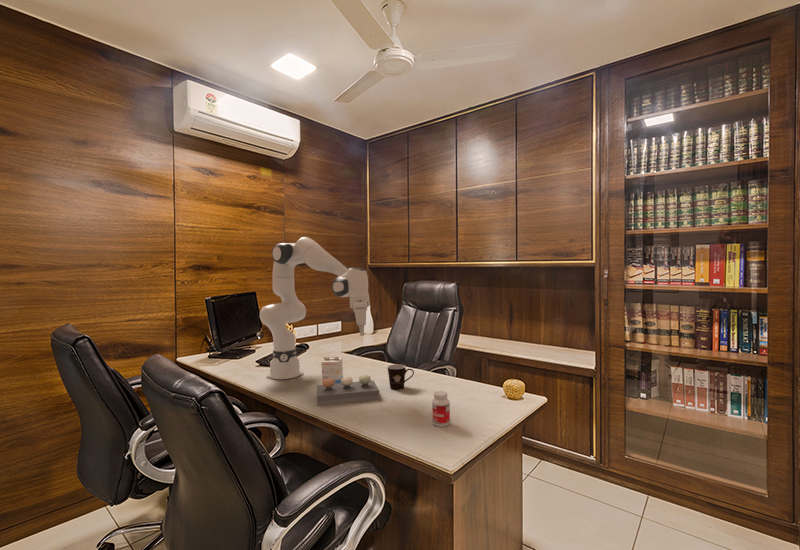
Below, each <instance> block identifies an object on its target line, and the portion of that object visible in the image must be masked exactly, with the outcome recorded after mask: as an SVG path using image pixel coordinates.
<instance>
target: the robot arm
mask: <svg viewBox="0 0 800 550" xmlns="http://www.w3.org/2000/svg"><path fill="white" fill-rule="evenodd" d="M271 255H272V259H273V265H272V266H273V268H272V292H273V293H274V294H275V295H276V296H277V297H280V299H281V303H280V302H279V303H271V304H267V305H265V306H262V308H261V309H260V311H259V319H260V322H261V323H262V324H263V325H264V326H266V327H267V328H268V329H269V331H270V333H271V334H272V342H273V350H272V357H273V358H272V360H270V362H269V364H270V365H269V373H268V374H266V378H268V379H273V380H288V379H294V378H296V377H299V376H303V375H304V371H303V369H301V365H300V359H299V358H298V357H297V347H296V335H295V333H294V332H293V331H291V330H289V329H288V328H287V324H291V323H297V322H299V321H302V320H304V319H305V317H306V314H307V308H306V306H305V305H304V303H303V302H301V301H300V300H299V298H298V296H297V294H296V290H295V289H296V288H295V287H296V286H295V267H296V266H297V265H298V266H303V265H305V264H306V265H307V266H308V267H309V268H311V269H312V270H315V271H319V272H326V273H330V274H331V273H332V274H334V275H336V276H337V277H335V278H334V279H333V281H332V282H331V290H332V293H333V295H335V296H336V297H337V298H338V297H339V298H349V306H350V307H349V308H350V309H353V310H352V312H354V316H355V321H356V322H355V323H356V326H357V327H358V329H359V335H360V336H361V337H363V336H365V326H366V324H367V311H368V307H370V306H371V303H370V294H369V293H370V292H369V277H368V272H367V270H366V269H365V268H363V267H349V268H348V266H346V265H345V264H343V263H342V262H341V261H340V260H339V259H337V258H335V257H334V256H332V255H331V254H330V253H329V252H328V251H326V250H325V249H324V248H323V247H322V246H321V245H320V244H319V243H317V242H316V241H315V240H314V239H312V238H310V237H308V236H303V237H300V238H299V239H298V240H297V241H296V242H287V243H286V242H281V243H276V244H275V245H274V246H273V248H272V251H271ZM360 336H359V337H360Z"/></svg>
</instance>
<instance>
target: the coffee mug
mask: <svg viewBox="0 0 800 550" xmlns="http://www.w3.org/2000/svg"><path fill="white" fill-rule="evenodd" d="M406 368H407V366H406V365H404V364H398V363H396V364H389V365H387V373H388V379H389V380H388V382H389V386H390V387H389V388H390V390H393V391H401V390H403V389H405V383H406V382H407V381H409V380H410V379H411V378H412V377H413V376H414V374H415V373H414V369H413V368H407V369H406ZM408 371H412V374H411V375H410V376H409V377H408V378H406V374H407V373H408Z"/></svg>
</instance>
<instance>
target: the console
mask: <svg viewBox="0 0 800 550" xmlns="http://www.w3.org/2000/svg"><path fill="white" fill-rule="evenodd" d="M376 400H377V401H378V400H380V389H379V387H378V386H377V384H376V382H375V380H373V379H372V380H371V382H370V383H368V387H362V383H359V381H353V384H351V385H350V389H344V385H341V383H337V384H334V386H332V387H331V390H328V391H326V387H323V385H322V384H317V385H316V406H319V407H320V405H321V406H330V405H337V404H338V405H340V404H347V403H357V402H358V403H359V402H368V401H376Z"/></svg>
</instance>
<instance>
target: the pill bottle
mask: <svg viewBox="0 0 800 550" xmlns="http://www.w3.org/2000/svg"><path fill="white" fill-rule="evenodd" d="M433 397H434V398H433V399H432V401H431V402H432V403H431V404H432V406H431V407H432V409H431V410H432V413H431V414H432V415H431V416H432V424H433V425H434V426H436V427H439V428H445V427H448V426H450V424H451V411H450V410H451V409H450V407H451V406H450V405H451V402H450V400H449V398H448V392H446V391H444V390H443V391H442V390H437V391H435V392H434V393H433Z"/></svg>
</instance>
